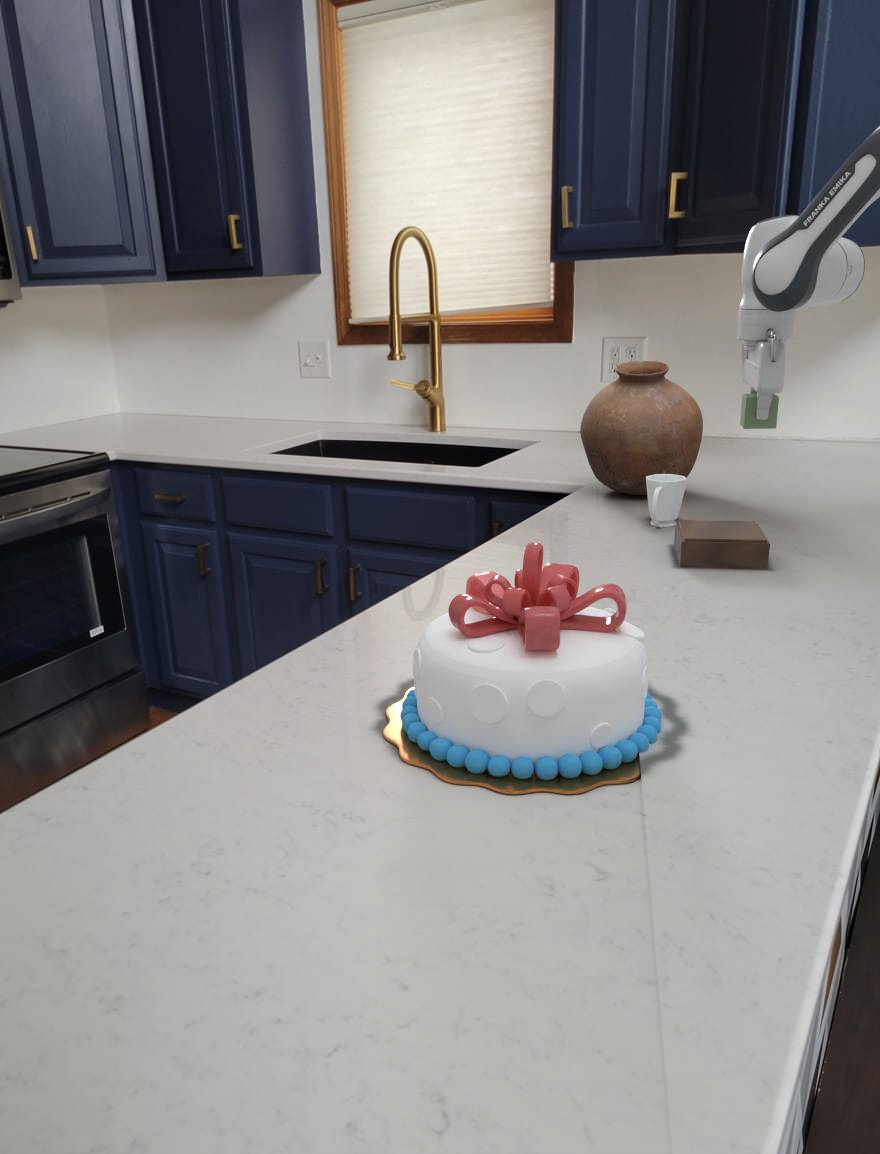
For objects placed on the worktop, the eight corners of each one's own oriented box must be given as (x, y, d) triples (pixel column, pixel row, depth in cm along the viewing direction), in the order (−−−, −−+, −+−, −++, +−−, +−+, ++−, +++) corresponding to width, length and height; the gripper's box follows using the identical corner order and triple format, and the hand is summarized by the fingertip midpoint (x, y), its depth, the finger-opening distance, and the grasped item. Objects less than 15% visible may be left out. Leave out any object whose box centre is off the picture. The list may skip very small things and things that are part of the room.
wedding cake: (581, 653, 109) (587, 497, 103) (743, 757, 85) (764, 561, 78) (347, 693, 101) (338, 526, 94) (452, 822, 76) (450, 607, 70)
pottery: (654, 477, 203) (662, 355, 194) (722, 498, 182) (734, 362, 173) (558, 487, 196) (561, 361, 187) (616, 510, 175) (623, 369, 167)
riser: (754, 552, 147) (757, 520, 145) (766, 574, 136) (770, 540, 134) (673, 550, 149) (675, 519, 147) (679, 572, 138) (681, 538, 136)
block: (771, 424, 159) (774, 393, 157) (776, 428, 155) (779, 396, 153) (739, 424, 160) (742, 394, 158) (743, 428, 156) (746, 397, 154)
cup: (688, 521, 166) (692, 475, 163) (673, 534, 158) (676, 486, 155) (648, 517, 169) (651, 472, 167) (631, 530, 161) (634, 483, 159)
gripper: (799, 330, 142) (789, 425, 147) (777, 324, 161) (769, 408, 165) (754, 331, 143) (746, 425, 148) (737, 325, 162) (731, 409, 167)
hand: (758, 416), depth 157 cm, fingers closed on block, 5 cm apart
